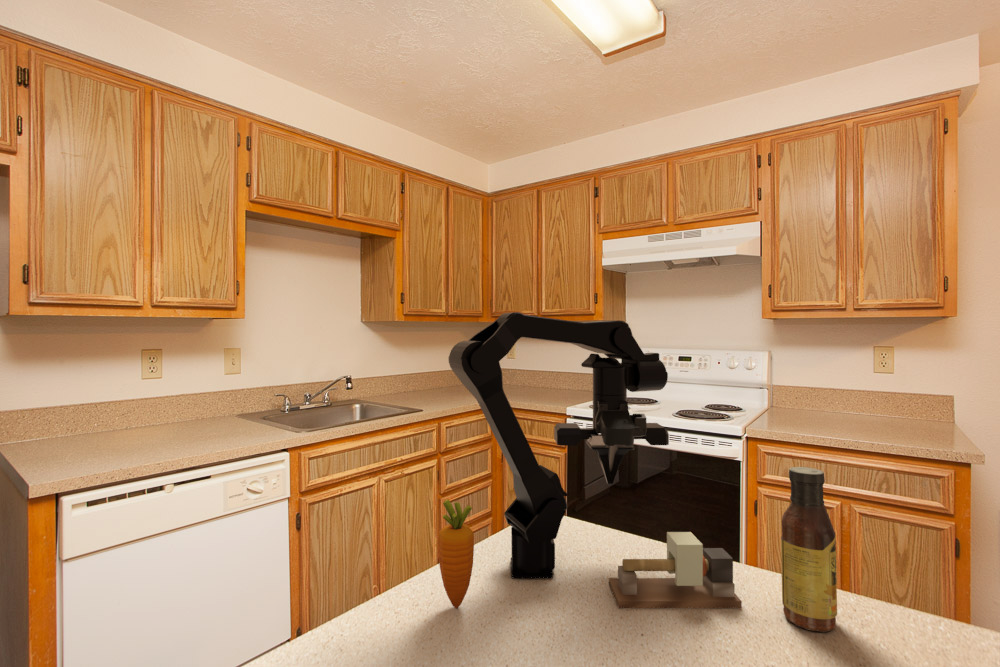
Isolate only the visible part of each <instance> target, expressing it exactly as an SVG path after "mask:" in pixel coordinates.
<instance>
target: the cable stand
mask: <svg viewBox="0 0 1000 667" xmlns="http://www.w3.org/2000/svg"><path fill="white" fill-rule="evenodd" d="M667 571H675V559H667V558H623V559H622V565H617V578H616V577H610V578H608V587H609V588H610V591H611V594H612V595H613V597H614V598H613V599H614V601H615V603H616V606H617V608H618V609H742V606H743V605H742V602H743V601H742V600H741V599H740V597H739V596H738V595H737V594H736V593H735V591H736V590H735V589H736V588H735V583H734V558H733V557H732V556H731V555H730V554H729V553H728V552H727V551H726V550H725V549H724V548H723V547H707V548H706V547H703V586H677V585H676V583H675V577H638V575H637V573H636V572H667Z"/></svg>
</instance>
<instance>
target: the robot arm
mask: <svg viewBox="0 0 1000 667" xmlns="http://www.w3.org/2000/svg"><path fill="white" fill-rule="evenodd" d="M629 325H630V324H629V323H627V322H626V321H623V320H602V321H601V320H598V321H597V320H595V321H582V322H581V321H576V320H575V321H573V320H565V319H560V318H559V319H558V318H550V317H545V316H539V315H538V316H537V315H529V314H524V313H522V312H519V311H515V312H514V311H513V312H504V313H502V314H501V315H500V316H499V317H498V318H497V319H495V320H494V321H493V322H492V323H490V324H489V325H487V326H486V327H485V328H483V329H482V330H480V331H478V332H477V333H475V334H474V335H473V336H471V338H469V339H468V340H463V341H459V342H457V343H456V344H455V345H453V347H452V348H451V350H450V352H449V355H448V364H449V367H450V369H451V370H452V372H453V374H454V375H455V376H456V377H457V379H458V380H459V381H460V382H461V384H462V385H463V386H464V387H465V388H466V390H467V391H468V392H469V393H470V394H471V395H472V396H473V397H474V399H476V401H477V403H478V405H479V407H480V410H481V411H482V414H483V416H484V418H485V420H486V421H487V424H488V426H489V427H490V430H491V432H492V434H493V436H494V438H495V439H496V443H497V444H498V446H499V448H500V450H501V452H502V455H503V456H504V459H505V460H506V463H507V465H508V466H509V468H510V470H511V473H512V476H513V477H512V478H513V490H514V494H515V496H516V498H515V499H514V500H513V501H512V503H511V504H510V505H509V506H508V507H507V509H506V510H505V511H504V515H503V516H504V518H505V521H506V523H507V525H508V526H510V527H511V528H510V529H511V533H510V534H511V535H510V536H511V539H510V540H511V557H510V578H512V579H519V580H520V579H523V580H524V579H525V580H526V579H553V578H554V573H553V570H555V569H556V553H555V552H556V544H555V539H557V536H558V533H559V529H560V526H561V523H562V521H563V520H562V519H564V516H565V514H566V511H567V509H568V503H567V499H566V497H568V496H569V494H568V492H566V491H565V489H564V488H563V486H562V483H561V479H560V477H559V474H558V473H557V472H555V471H552V470H551V469H549V468H547V467H546V466H544V465H541V464H539V463H538V460H537V458H536V456H535V454H534V452H533V450H532V448H531V446H530V443H529V441H528V439H527V437H526V435H525V433H524V431H523V429H522V427H521V425H520V422H519V421H518V420H519V419H518V418H517V416H516V414H515V412H514V410H513V408H512V406H511V404H510V401H509V399H508V398H507V395H506V393H505V391H504V382H503V379H504V378H503V372H502V368H501V363H500V361H502V360H503V358H505V357H506V356H507V355H508V354H509V353H510V351H511V350H512V348H513V347H514V346H515V344H516V343H517V342H518V341H519V340H520V339H531V340H539V341H548V342H556V343H564V344H571V345H574V346H578V347H580V348H581V349H584V350H587V351H590V352H593V353H590V354H589V356H588V357H587V358H586V359H585V360H584V361H583V362H581V364H580V365H581V367H582V368H588V369H592V427H591V428H589V427H587V428H584V427H582V428H581V427H580V426H579V424H578V423H576V422H571V423H570V422H562V423H561V422H560V423H559V422H557V423H556V425H554V426H553V436H554V437H553V438H554V440H555V443H556V446H563V447H564V446H567V447H569V446H573V447H575V446H577V445H578V444H580V442H581V441H582V440H586V441H585V442H586V445H587V446H588V447H589V448H590V450H592V451H594V452H595V453H596V455H597V458H598V460H599V463H600V466H601V470H602V472H603V475H604V478H605V481H606V484H608V485H613V484H614V482H615V479H616V476H617V474H618V470H619V468H620V465H621V462H622V460H623V458H624V457H625V455H626V454H627V453H628V452H630V451H633V450H635V446H634V443H635V440H645V441H646V442H647V443H648V444H649V445H650V446H668V445H669V444H670V439H669V438H670V434H669V431H668V430H667V428H665V427H664V426H662V425H661V424H659V423H658V422H647V417H646V415H645V413H633V414H630V412H629V411H630V410H629V403H628V396H627V395H628V394H627V391H629V392H631V393H636V392H637V393H638V392H651V391H653V392H654V391H655V392H656V391H661V390H663V389H664V388H665V387H666V385H667V383H668V377H669V376H668V375H669V373H668V372H667V368H666V366H665V364H664V362H663V361H661V360H660V354H659V352H645V353H644V352H643V350H642V348H641V347H640V345H639V344H638V341H637V340H636V339H635V337H634V335H633V331H632V329H631V328H630V326H629ZM600 354H603V355H605V356H606V357H601V356H600ZM618 359H619V360H621V362H620V361H619V360H618Z"/></svg>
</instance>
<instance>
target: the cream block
mask: <svg viewBox="0 0 1000 667" xmlns="http://www.w3.org/2000/svg"><path fill="white" fill-rule="evenodd" d="M703 548H704V544H703V543H702V542H701V541H700V540H699V538H697V537H696V536H695V535H694V534H693V533H692V532H691V531H667V532H666V559H675V571H666V572H667V574H669V575H670V574H673V575H674V578H675V583H676V585H677V586H703Z"/></svg>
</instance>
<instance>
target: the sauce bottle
mask: <svg viewBox="0 0 1000 667" xmlns="http://www.w3.org/2000/svg"><path fill="white" fill-rule="evenodd" d="M788 478H789V481H790V482H789V483H790V496H789V500H790V504H789V505H788V507H787V508H786V510H785V511H783V514H782V517H781V536H780V543H781V544H780V555H781V557H780V559H781V560H780V561H781V602H782V605H783V607H782V609H783V614H784V617H785V618H786V619H787V620H788V621H789V622H791V623H793V624H794V625H795V626H798V627H800V628H802V629H805V630H808V631H813V632H819V633H820V632H821V633H824V632H825V633H826V632H829V631H832V630H834V628H835V627H836V623H837V621H836V618H837V616H838V594H837V593H838V591H837V588H838V587H837V585H838V584H837V582H838V578H837V568H838V567H837V546H836V545H837V540H836V539H837V538H836V537H837V536H836V532H835V528H834V527H833V524H832V521H831V518H830V516H829V513H828V510H827V509H826V508H827V507H826V506H825V500H824V484H825V482H826V481H825V480H826V479H825V473H824V471H823V470H821V469H819V468H818V469H817V468H813V467H807V466H792V467H790V468H789V469H788Z"/></svg>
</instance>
